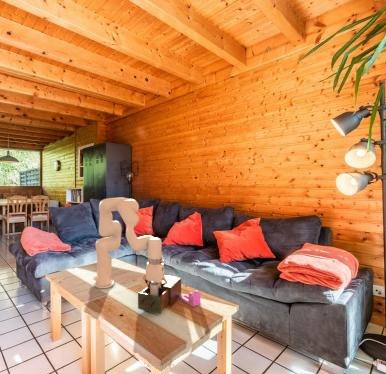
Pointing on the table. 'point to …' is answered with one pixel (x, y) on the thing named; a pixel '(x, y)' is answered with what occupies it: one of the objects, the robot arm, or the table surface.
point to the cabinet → (173, 288)
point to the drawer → (153, 301)
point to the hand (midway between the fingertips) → (155, 292)
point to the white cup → (154, 289)
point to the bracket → (191, 298)
